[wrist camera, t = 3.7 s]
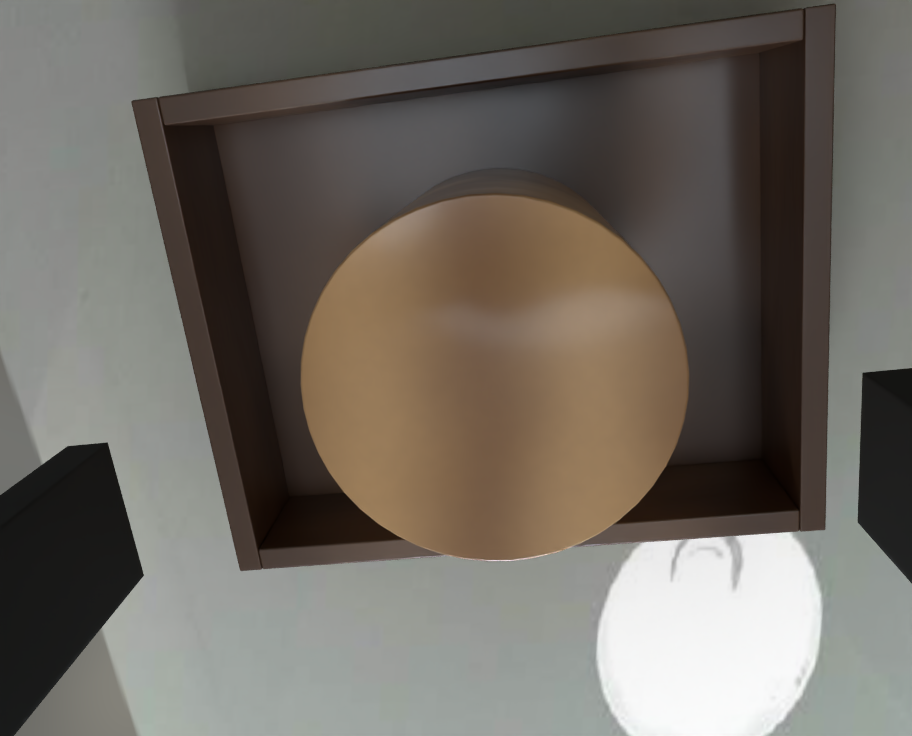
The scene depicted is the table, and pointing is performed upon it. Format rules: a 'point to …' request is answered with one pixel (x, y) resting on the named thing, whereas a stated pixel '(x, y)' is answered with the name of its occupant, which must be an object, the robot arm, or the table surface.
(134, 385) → the table surface
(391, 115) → the dark wooden tray
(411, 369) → the tan round tin
